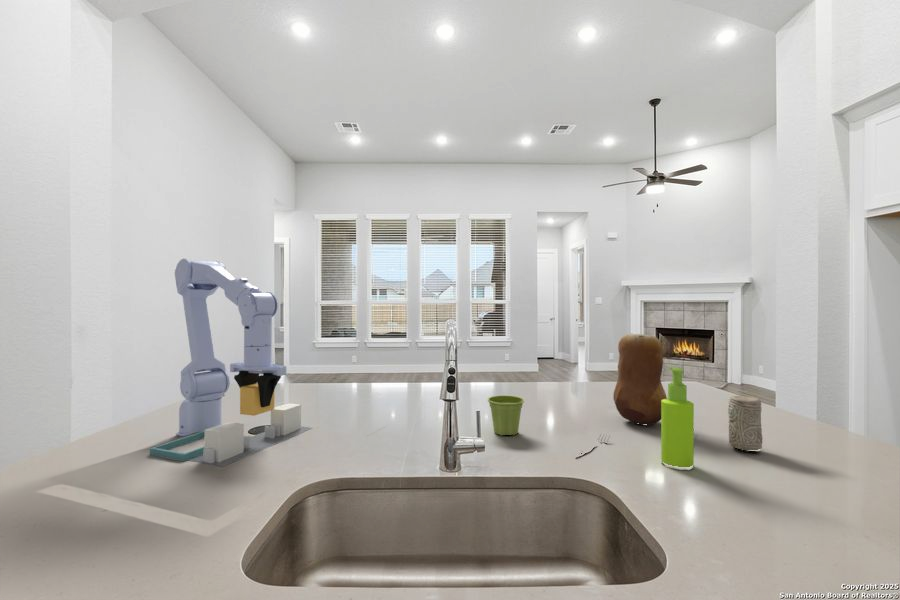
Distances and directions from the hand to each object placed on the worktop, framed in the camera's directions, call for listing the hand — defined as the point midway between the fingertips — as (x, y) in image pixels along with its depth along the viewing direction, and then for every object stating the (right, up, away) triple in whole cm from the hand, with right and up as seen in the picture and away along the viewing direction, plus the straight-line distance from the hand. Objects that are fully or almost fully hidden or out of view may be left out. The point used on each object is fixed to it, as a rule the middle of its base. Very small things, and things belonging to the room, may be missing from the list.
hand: (257, 405), depth 96 cm
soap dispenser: (+91, -10, -8) cm, 92 cm away
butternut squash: (+97, -11, +22) cm, 100 cm away
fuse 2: (+3, -8, +8) cm, 12 cm away
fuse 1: (-3, -8, -8) cm, 12 cm away
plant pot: (+58, -10, +13) cm, 60 cm away
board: (0, -10, 0) cm, 10 cm away
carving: (+111, -11, +1) cm, 112 cm away
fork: (+76, -11, +1) cm, 77 cm away
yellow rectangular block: (0, -1, 0) cm, 1 cm away
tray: (-12, -10, -3) cm, 16 cm away
